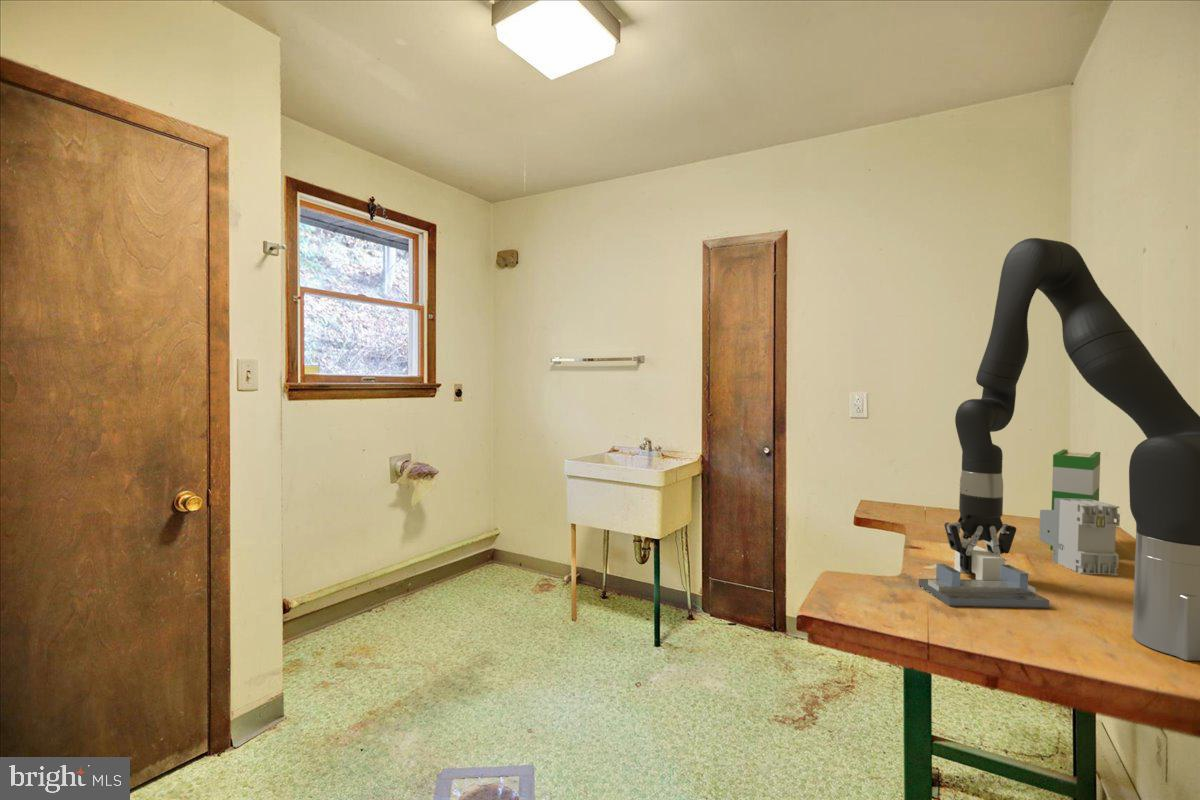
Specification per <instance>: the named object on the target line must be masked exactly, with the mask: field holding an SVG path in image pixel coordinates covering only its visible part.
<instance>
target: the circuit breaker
mask: <svg viewBox="0 0 1200 800" xmlns="http://www.w3.org/2000/svg"><path fill="white" fill-rule="evenodd" d="M1118 509H1120V505H1117V506H1116V505H1114V504H1111V503H1107V502H1103V501H1100V500H1099V501H1096V500H1092V499H1072V498H1054V510H1052V509H1039V535H1038V536H1039V537H1038V539H1039V541H1040V542H1042V543H1044V544H1048V545H1050V546H1051V545H1052V546H1053V553H1052V563H1054V562H1055V564H1056V563H1058V564H1057V565H1059V564H1060V565H1059V566H1061V565H1063V566H1065V567H1064V568H1066V567H1067V568H1066V569H1068V568H1069V569H1068V570H1070V569H1072V570H1074V571H1073V572H1075V571H1078V572H1077V573H1078V574H1079V573H1080V574H1079V575H1093V574H1109V575H1108V576H1119V573H1117V569H1119V553H1117V552H1116V537H1117V536H1116V534H1117V533H1116V531H1117V528H1116V527H1120V525H1121V524H1120V523H1121V522H1120V520H1121V519H1120V518H1121V516H1120V515H1121V514H1120V513H1118ZM1115 520H1116V521H1115ZM1063 566H1062V567H1063ZM1072 570H1071V571H1072ZM1110 574H1111V575H1110Z"/></svg>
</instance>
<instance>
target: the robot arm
mask: <svg viewBox="0 0 1200 800" xmlns="http://www.w3.org/2000/svg"><path fill="white" fill-rule="evenodd" d="M1002 264H1003V265H1002V267H1001V272H1000V277H999V282H998V283H999V285H998V290H997V297H996V303H995V308H994V314H993V320H992V326H991V330H990V333H989V338H988V342H987V345H986V348H985V350H984V353H983V357H982V359H981V362H980V365H979V368H978V370H977V372H976V378H975V380H976V383H977V385H978V386H980V387H981V388H982V394H981V398H973V399H972V398H971V399H968V400H964V401H963V402H962V403H961V404H959V406H958V407H957V409H956V412H955V417H954V422H955V424H954V425H955V428H956V433H957V436H958V442H959V444H960V447H961V453H962V454H961V474H960V479H959V499H958V502H959V503H958V504H959V506H958V509H959V513H960V514H959V515H960V516H959V518H958V521H957V522H952V523H950V522H945V523H944V524H943V525H944V529H945V533H946V536H947V540H948V543H949V547H950V549H951V550H953V551H954V552H955V551H957V552H959V553H960V568H962V570H963V571H965V572H967V573H966V574H970V573H971V566H972V556H970V555H971V554H972V551H973V548H974V546H978V542H981V541H982V542H983V544H984V546H985V550H988V551H990V552H992V553H994V554H996V555H999V556H1001V555H1003V554H1006V555H1007V554H1009V553H1010V550H1011V547H1012V544H1013V542H1014V539H1015V535H1016V532H1017V528H1016V526H1013V525H1011V524H1008V523H1003V521H1002V519H1001V517H1002V516H1003V513H1004V512H1003V508H1004V507H1003V505H1004V479H1003V460H1004V459H1003V455H1004V454H1003V450H1002V448H1001V447H1000V446H999V445H996V444H994V443H993V440H992V435H991V433H995V432H998V431H999V432H1000V431H1002V430H1003V429H1005V428H1006V427H1007V426H1008V425H1009V423H1010V422H1011V420H1012V419H1013V416H1014V414H1015V407H1016V397H1017V385H1018V382H1019V379H1020V377H1021V374H1022V372H1023V370H1024V367H1025V364H1026V362H1027V357H1028V354H1029V349H1030V348H1029V345H1030V344H1029V343H1030V341H1029V340H1030V339H1029V330H1028V317H1029V311H1030V305H1031V303H1032V300H1033V297H1034V295H1035V294H1036V292H1037V290H1038V291H1040V292H1041V293H1043V295H1044V296H1045V297H1046V298H1047V299H1048V301H1050V303H1051V304H1052V306H1053V307H1054V309H1055V310H1056V312H1058V314H1059V317H1060V320H1061V327H1062V328H1061V329H1062V342H1063V347H1064V349H1065V352H1066V354H1067V356H1068V357H1069V359H1070V360H1071V363H1072V364H1073V365H1074V367H1075V368H1076V369H1077V371H1078V372H1079V374H1080V375H1081V376H1082V378H1083V380H1084V381H1085V382H1086V383H1087V384H1089V386H1090V387H1091V388H1093V389H1094V390H1095V391H1096V392H1097V393H1098V394H1100V395H1101V396H1102V397H1104V398H1105V399H1107V401H1108V402H1110V403H1112V404H1113V405H1115V407H1117V408H1119V410H1122V412H1124V413H1125V414H1126V415H1127V416H1129V418H1131V419H1132V421H1134V422H1135V423H1136V425H1137V426H1138V427H1139V428H1140V430H1141V431H1142V433H1143V434H1144V436H1145V437H1146V439H1144V440H1142V441H1141V442H1140V443H1138V444H1137V445H1136V446H1135V447H1134V449H1133V451H1132V454H1131V455H1130V459H1129V465H1128V468H1129V469H1128V485H1129V486H1128V487H1129V488H1128V491H1129V492H1128V493H1129V508H1130V513H1131V514H1132V517H1133V519H1134V521H1135V525H1136V529H1135V551H1134V552H1135V553H1134V554H1135V556H1134V578H1133V579H1134V580H1133V581H1134V584H1133V589H1134V590H1133V609H1132V610H1133V612H1132V613H1133V615H1132V638H1133V639H1134V640H1135V641H1136V642H1138V643H1140V645H1144V646H1145V647H1147V648H1150V649H1152V650H1155V651H1158V652H1161V653H1164V654H1167V655H1170V656H1175V657H1177V658H1179V659H1182V660H1185V661H1200V415H1199V414H1198V413H1197V412H1196V411H1195V410H1194V409H1193V408H1192V407H1191V405H1190V404H1189V402H1187V401H1186V400H1185V398H1184V397H1183V396H1182V395H1181V393H1180V392H1179V391H1178V389H1177V387H1176V386H1175V385H1174V384H1173V382H1172V380H1171V379H1170V378H1169V376H1168V375H1167V374H1166V372H1164V370H1163V369H1162V367H1161V366H1160V365H1159V364H1158V362H1157V361H1156V360H1155V358H1154V357H1153V356H1152V354H1151V353H1150V351H1149V349H1148V348H1147V347H1146V345H1145V344H1144V343H1143V342H1142V341H1141V339H1140V338H1139V336H1138V335H1137V333H1135V331H1134V330H1133V328H1132V327H1131V326H1130V325H1129V324H1128V322H1126V321H1125V319H1124V318H1123V316H1122V315H1121V314H1120V313H1119V311H1118V310H1117V309H1116V308H1115V306H1114V305H1113V304H1112V302H1111V301H1110V300H1109V299H1108V298H1107V296H1106V295H1105V294H1104V293H1103V292H1102V290H1101V288H1100V287H1099V285H1098V284H1097V282H1096V280H1095V278H1094V276H1093V274H1092V273H1091V271H1090V270H1089V268H1088V266H1087V264H1086V262H1085V260H1084V259H1083V256H1082V255H1081V253H1080V252H1079V251H1078V249H1076V248H1075V247H1074V246H1072V245H1071V244H1070V243H1067V242H1063V241H1059V240H1053V239H1046V238H1039V237H1030V238H1026V239H1024V240H1020V241H1019V242H1017V243H1016V244H1014V245H1013V246H1012V247H1011V248H1010V250H1009V251H1008V253H1006V256H1005V257H1004V260H1003V263H1002ZM961 531H962V532H961ZM999 532H1000V533H999ZM998 533H999V534H998ZM960 534H961V535H960ZM997 534H998V535H997ZM960 536H961V537H960ZM971 574H972V573H971Z"/></svg>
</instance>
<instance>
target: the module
mask: <svg viewBox="0 0 1200 800" xmlns="http://www.w3.org/2000/svg"><path fill="white" fill-rule="evenodd" d="M970 556H972V566H971V574H972V573H973V574H975V580H1001V565H1006V557H1004V556H1001V555H1000V556H999V555H996V554H994V553H992V552H990V551H988V550H987V549H986V548H983V547H981V546H978V545H976V546H974V548H973V551H972V554H971V555H970ZM954 569H955V570H957V571H959V572H961V573H963V574H964V573H965V574H968V573H967V572H965V571H963V570H962V568H960V553H959V552H957V551H955V550H954ZM961 573H960V574H961Z"/></svg>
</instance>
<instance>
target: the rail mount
mask: <svg viewBox="0 0 1200 800" xmlns="http://www.w3.org/2000/svg"><path fill="white" fill-rule="evenodd" d="M935 569H936V570H935V574H936V575H935V578H918V586H919V585H920V586H921V587H923V588H924V589H926V590H927V591H929V592H930V593H932V594H933V595H934V596H936V597H937V598H939V599H940V600H941V601H940V600H939V599H938V600H939V601H940V602H942V603H943V602H944V603H943V604H945V605H946V604H947V605H946V606H948V607H960V606H973V607H972V608H1008V609H1009V608H1013V609H1014V608H1016V609H1017V608H1018V609H1020V608H1021V609H1024V608H1025V609H1050V600H1049V599H1047V598H1046V597H1044V596H1041V595H1039V594H1037V592H1036V590H1037V589H1036V587H1034V586H1032V585H1031V584H1029V572H1025V571H1023V570H1021V569H1019V568H1016V567H1015V566H1012V565H1010V564H1005V565H1001V580H976V579H963V578H961V572H959V571H957V570H955V568H954V567H951V566H949V564H946V563H936V568H935ZM921 587H920V588H921ZM924 589H923V590H924ZM927 591H926V592H927ZM930 593H929V594H930ZM933 595H932V596H933ZM934 596H933V597H934ZM936 597H935V598H936ZM937 598H936V599H937Z"/></svg>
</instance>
